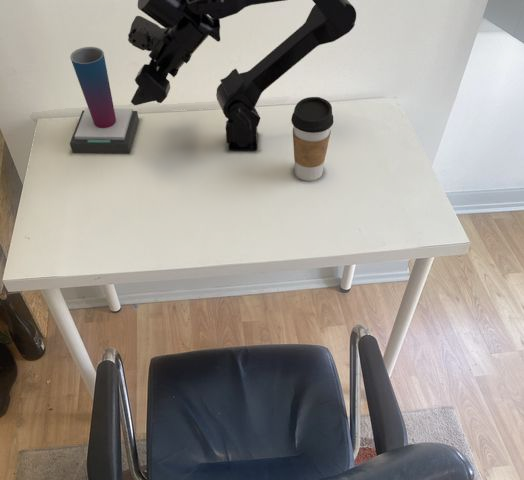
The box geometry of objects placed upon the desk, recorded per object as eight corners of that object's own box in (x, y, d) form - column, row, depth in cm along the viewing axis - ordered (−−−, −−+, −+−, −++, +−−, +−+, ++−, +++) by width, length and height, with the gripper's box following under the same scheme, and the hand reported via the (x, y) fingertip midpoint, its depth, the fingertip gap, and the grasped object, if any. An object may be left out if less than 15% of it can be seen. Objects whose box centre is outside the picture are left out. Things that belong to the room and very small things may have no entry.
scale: (139, 120, 129) (136, 107, 127) (129, 153, 122) (126, 141, 119) (85, 119, 130) (81, 107, 127) (72, 152, 122) (68, 140, 120)
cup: (124, 125, 123) (108, 58, 110) (95, 133, 121) (76, 66, 109) (114, 110, 126) (97, 43, 114) (86, 118, 124) (65, 51, 112)
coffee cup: (332, 164, 119) (339, 100, 107) (321, 188, 114) (328, 123, 102) (295, 157, 121) (298, 92, 108) (284, 180, 116) (286, 115, 104)
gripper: (160, -18, 104) (118, 39, 114) (135, 29, 93) (91, 87, 103) (205, 28, 110) (160, 78, 120) (186, 76, 99) (139, 127, 109)
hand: (138, 91), depth 113 cm, fingers open, 9 cm apart
